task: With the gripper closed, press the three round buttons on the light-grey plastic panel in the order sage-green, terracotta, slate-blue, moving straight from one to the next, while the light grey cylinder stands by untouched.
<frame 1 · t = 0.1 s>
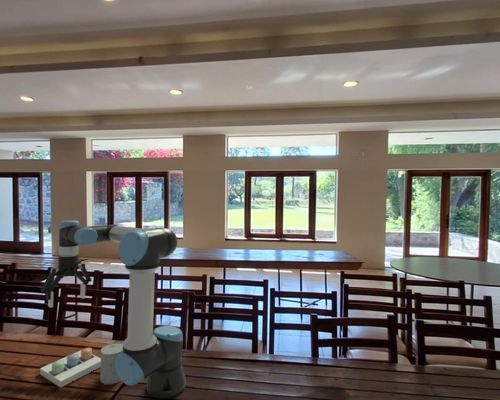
hand: (67, 302, 130), 28 cm above the table, fingers open, 13 cm apart
sage button: (58, 368, 121), point 4 cm above the table, slide at 0.0 cm
slate button: (72, 361, 126), point 4 cm above the table, slide at 0.0 cm
light grey cylinder: (112, 377, 122), on the table
terracotta button: (86, 355, 131), point 4 cm above the table, slide at 0.0 cm
panel: (72, 369, 126), on the table
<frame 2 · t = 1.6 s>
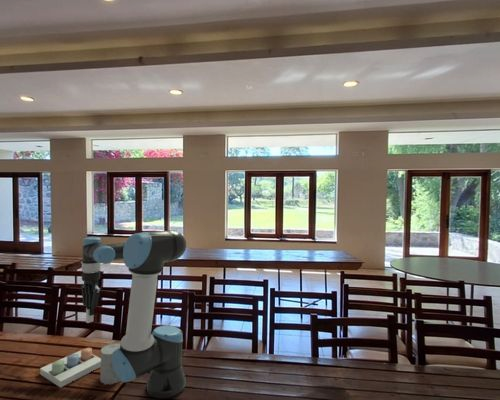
hand: (89, 321, 134), 18 cm above the table, fingers closed
nothing on the table moved.
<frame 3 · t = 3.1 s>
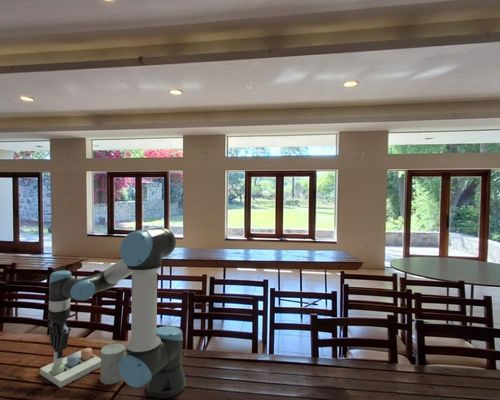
hand: (57, 364, 121), 5 cm above the table, fingers closed
sage button: (58, 370, 121), point 3 cm above the table, slide at 1.0 cm, touching gripper
everything else where it was.
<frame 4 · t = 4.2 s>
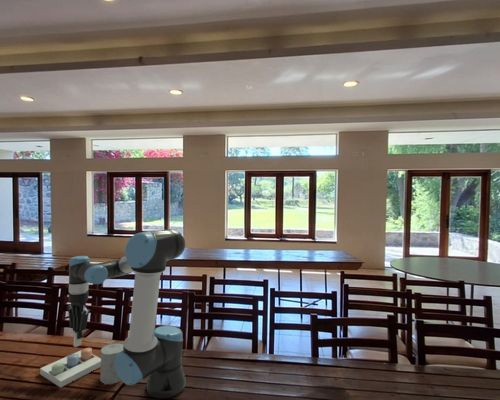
hand: (77, 345, 127), 10 cm above the table, fingers closed
sage button: (58, 371, 121), point 2 cm above the table, slide at 1.1 cm
everything else where it was.
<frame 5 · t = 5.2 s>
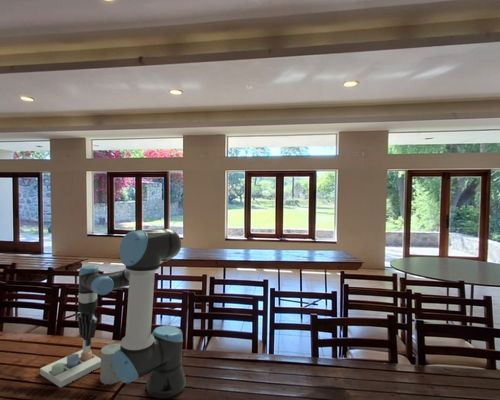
hand: (86, 352, 131), 5 cm above the table, fingers closed
terracotta button: (86, 357, 131), point 2 cm above the table, slide at 1.1 cm, touching gripper
everything else where it was.
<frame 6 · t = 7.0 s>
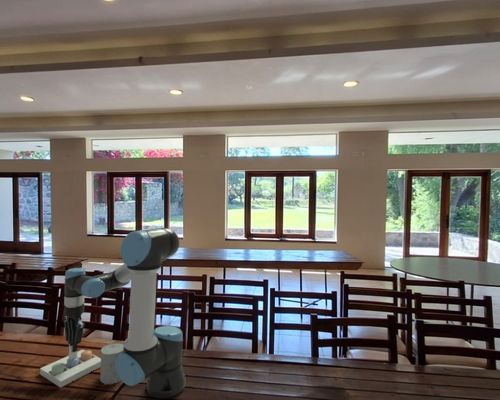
hand: (72, 358, 126), 5 cm above the table, fingers closed
slate button: (72, 364, 126), point 2 cm above the table, slide at 1.1 cm, touching gripper
terracotta button: (86, 357, 131), point 2 cm above the table, slide at 1.2 cm
everything else where it was.
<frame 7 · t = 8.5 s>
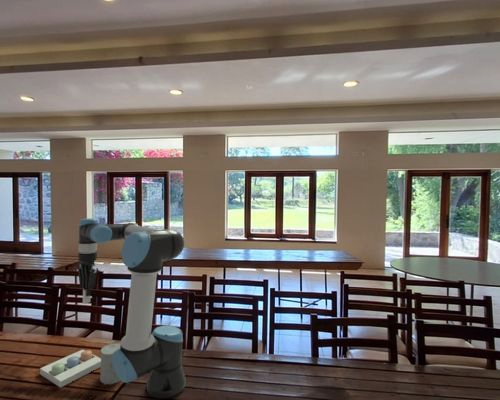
hand: (86, 302, 134), 26 cm above the table, fingers closed
slate button: (72, 364, 126), point 2 cm above the table, slide at 1.1 cm
everything else where it was.
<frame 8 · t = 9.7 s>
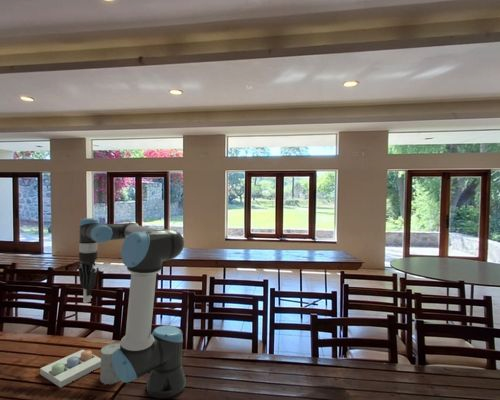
hand: (87, 301, 134), 26 cm above the table, fingers closed
nothing on the table moved.
at the end: sage button slide at 1.1 cm; terracotta button slide at 1.2 cm; slate button slide at 1.1 cm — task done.
